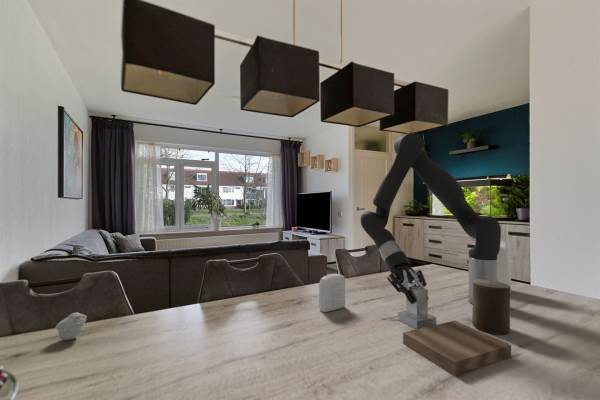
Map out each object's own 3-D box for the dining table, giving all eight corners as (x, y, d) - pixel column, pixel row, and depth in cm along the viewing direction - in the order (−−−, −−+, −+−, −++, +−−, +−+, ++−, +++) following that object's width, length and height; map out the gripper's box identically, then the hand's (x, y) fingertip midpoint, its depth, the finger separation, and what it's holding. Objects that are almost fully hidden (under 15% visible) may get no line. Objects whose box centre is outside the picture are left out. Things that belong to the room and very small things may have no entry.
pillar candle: (498, 337, 83) (499, 285, 83) (465, 324, 92) (466, 276, 92) (516, 331, 88) (517, 281, 88) (483, 319, 96) (484, 273, 96)
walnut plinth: (454, 330, 88) (454, 320, 88) (511, 356, 73) (511, 344, 73) (403, 343, 80) (403, 332, 80) (454, 375, 65) (454, 362, 65)
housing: (416, 315, 99) (416, 283, 99) (436, 325, 92) (436, 290, 92) (398, 319, 96) (398, 286, 96) (416, 329, 88) (416, 293, 88)
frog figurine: (88, 338, 83) (88, 313, 82) (56, 347, 78) (56, 320, 78) (84, 331, 87) (84, 308, 87) (53, 339, 82) (53, 314, 82)
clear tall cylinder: (474, 290, 127) (474, 230, 127) (479, 284, 135) (479, 228, 135) (508, 296, 119) (508, 232, 119) (511, 290, 128) (511, 230, 128)
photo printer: (339, 304, 110) (339, 271, 110) (347, 307, 106) (347, 273, 106) (317, 309, 104) (317, 275, 104) (324, 313, 101) (324, 277, 101)
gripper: (382, 251, 98) (409, 298, 87) (414, 248, 104) (443, 292, 93) (372, 264, 103) (396, 310, 92) (404, 261, 109) (430, 304, 98)
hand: (420, 301), depth 92 cm, fingers closed on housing, 4 cm apart
